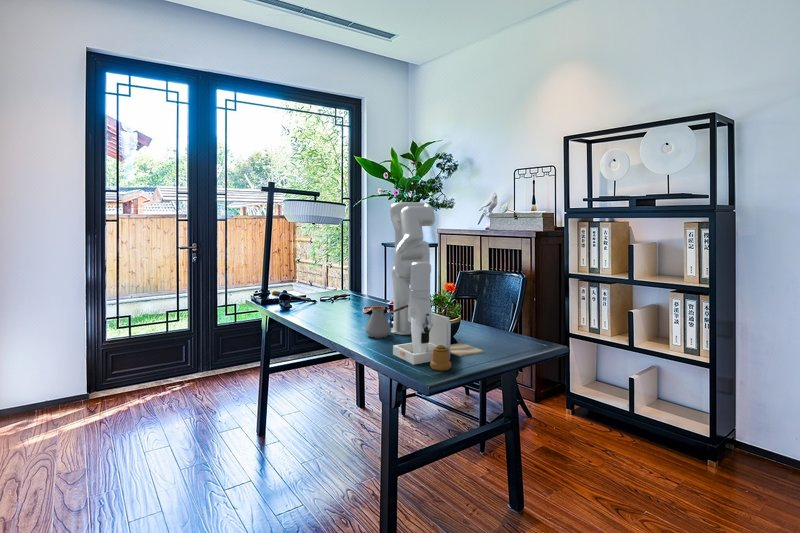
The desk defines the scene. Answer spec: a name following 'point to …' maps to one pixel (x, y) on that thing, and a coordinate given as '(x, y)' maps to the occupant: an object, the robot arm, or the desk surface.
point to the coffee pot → (379, 322)
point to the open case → (436, 337)
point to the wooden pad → (464, 349)
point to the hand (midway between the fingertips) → (419, 340)
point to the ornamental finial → (440, 359)
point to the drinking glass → (417, 338)
